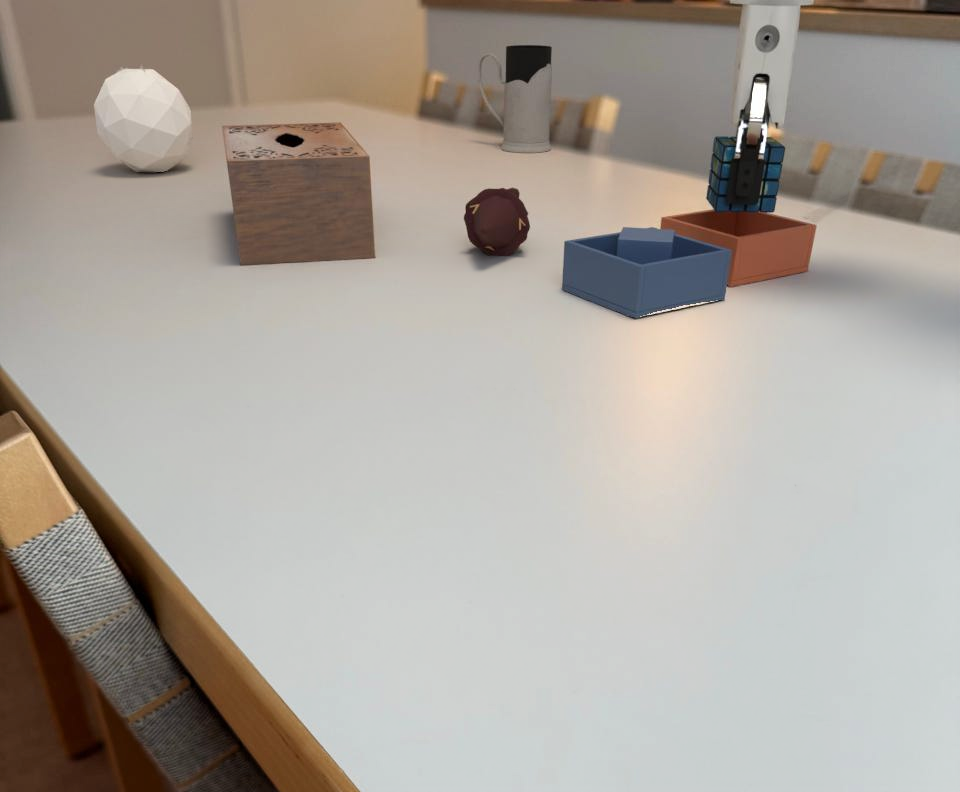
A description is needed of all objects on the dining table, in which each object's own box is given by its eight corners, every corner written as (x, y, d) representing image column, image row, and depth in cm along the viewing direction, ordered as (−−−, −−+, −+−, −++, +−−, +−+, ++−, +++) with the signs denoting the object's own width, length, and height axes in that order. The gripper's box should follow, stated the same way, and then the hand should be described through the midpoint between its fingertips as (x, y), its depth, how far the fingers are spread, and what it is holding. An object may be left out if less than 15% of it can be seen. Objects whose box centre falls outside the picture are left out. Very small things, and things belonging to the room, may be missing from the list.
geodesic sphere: (59, 126, 144) (77, 39, 133) (136, 116, 153) (159, 34, 142) (123, 201, 143) (146, 120, 133) (197, 186, 153) (224, 109, 142)
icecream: (527, 207, 96) (549, 192, 109) (457, 183, 96) (488, 171, 109) (507, 276, 100) (531, 254, 112) (441, 253, 100) (472, 234, 113)
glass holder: (535, 154, 160) (538, 49, 152) (464, 146, 167) (464, 45, 158) (560, 147, 166) (565, 46, 158) (491, 140, 173) (492, 42, 164)
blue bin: (647, 273, 100) (652, 226, 97) (724, 300, 92) (732, 250, 89) (561, 289, 95) (564, 240, 92) (635, 319, 87) (640, 266, 84)
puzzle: (705, 199, 101) (714, 136, 98) (762, 200, 101) (773, 136, 97) (714, 212, 96) (723, 145, 93) (774, 212, 96) (786, 146, 93)
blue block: (618, 280, 95) (623, 226, 93) (669, 283, 95) (675, 229, 92) (613, 294, 91) (617, 238, 89) (666, 297, 91) (672, 241, 88)
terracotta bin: (731, 249, 108) (737, 205, 106) (807, 271, 101) (817, 224, 98) (656, 262, 103) (661, 217, 101) (730, 287, 96) (738, 238, 93)
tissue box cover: (233, 213, 122) (221, 125, 116) (346, 208, 125) (340, 122, 119) (240, 265, 102) (226, 161, 96) (375, 257, 105) (369, 156, 99)
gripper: (823, -12, 80) (782, 216, 91) (810, -17, 94) (776, 182, 104) (731, -13, 81) (701, 212, 92) (732, -18, 95) (706, 179, 106)
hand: (741, 194), depth 98 cm, fingers closed on puzzle, 6 cm apart
